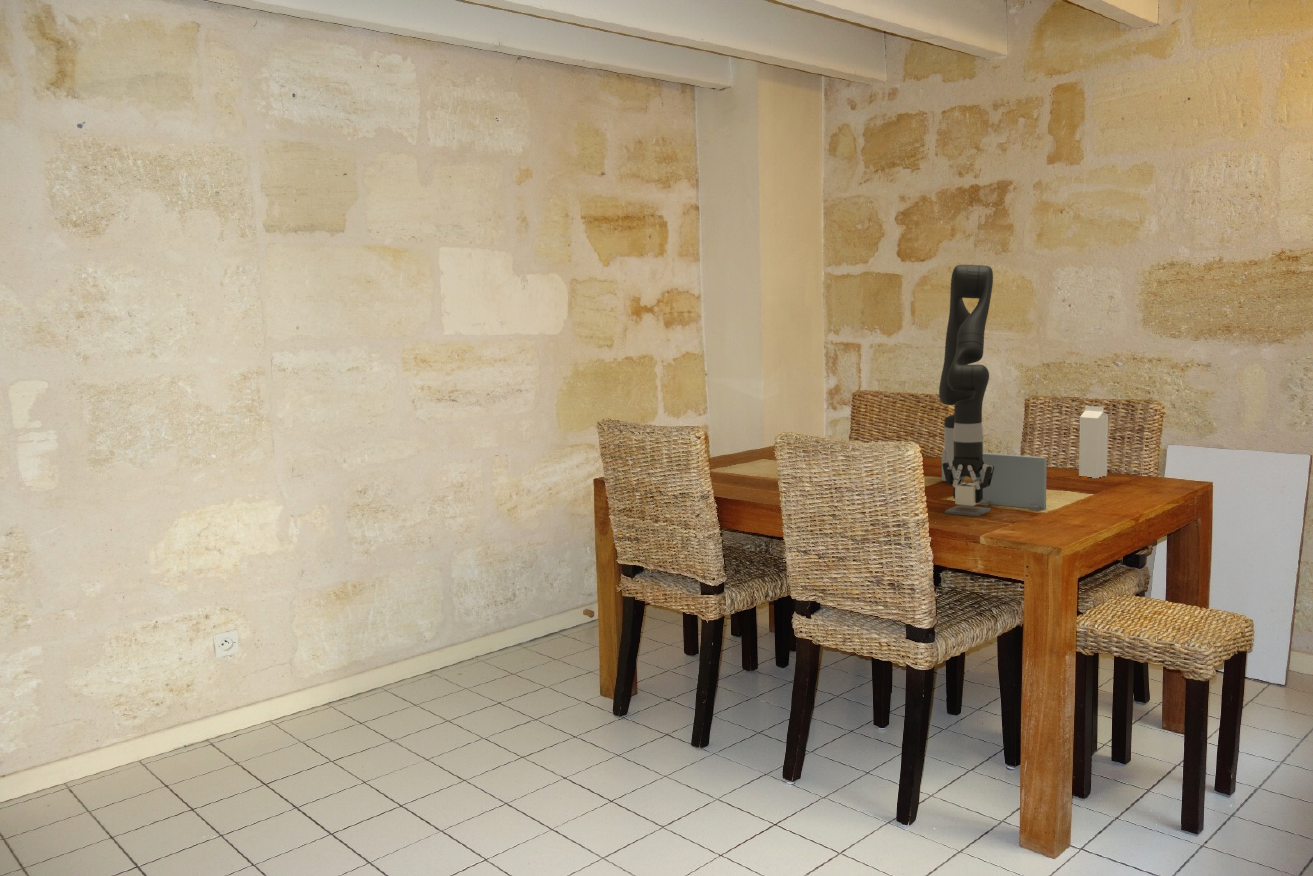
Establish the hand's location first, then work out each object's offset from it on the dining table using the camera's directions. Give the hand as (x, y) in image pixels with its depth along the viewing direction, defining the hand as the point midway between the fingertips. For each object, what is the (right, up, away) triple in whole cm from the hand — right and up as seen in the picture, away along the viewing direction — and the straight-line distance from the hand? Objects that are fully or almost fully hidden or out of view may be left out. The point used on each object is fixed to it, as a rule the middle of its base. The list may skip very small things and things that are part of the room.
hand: (968, 501), depth 268 cm
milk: (+52, +5, +42) cm, 67 cm away
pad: (0, -3, 0) cm, 3 cm away
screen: (+14, -2, +6) cm, 15 cm away
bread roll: (+8, 0, +22) cm, 24 cm away
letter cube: (0, -1, 0) cm, 1 cm away
